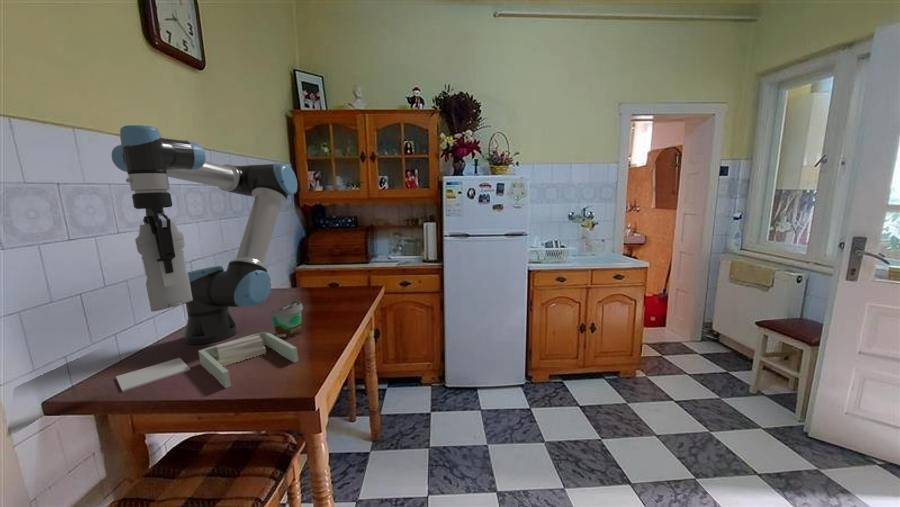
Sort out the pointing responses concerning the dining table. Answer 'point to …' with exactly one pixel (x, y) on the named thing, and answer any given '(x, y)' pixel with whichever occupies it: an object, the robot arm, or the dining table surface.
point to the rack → (267, 339)
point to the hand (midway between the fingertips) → (168, 284)
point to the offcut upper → (239, 347)
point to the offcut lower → (239, 357)
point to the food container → (288, 320)
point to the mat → (151, 374)
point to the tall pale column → (155, 288)
